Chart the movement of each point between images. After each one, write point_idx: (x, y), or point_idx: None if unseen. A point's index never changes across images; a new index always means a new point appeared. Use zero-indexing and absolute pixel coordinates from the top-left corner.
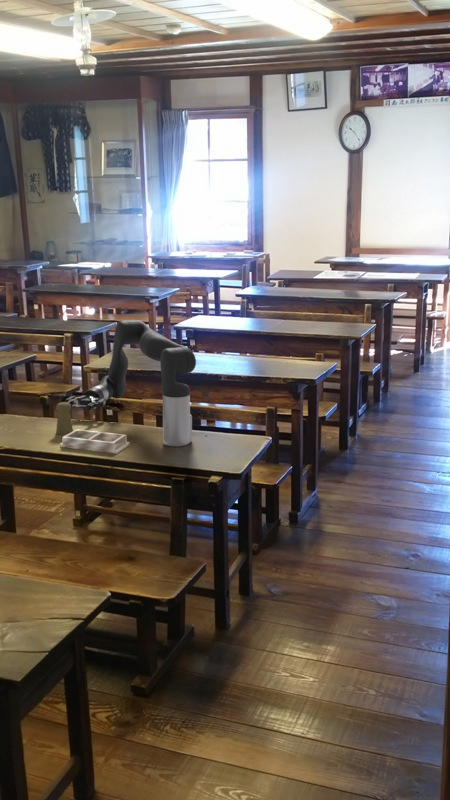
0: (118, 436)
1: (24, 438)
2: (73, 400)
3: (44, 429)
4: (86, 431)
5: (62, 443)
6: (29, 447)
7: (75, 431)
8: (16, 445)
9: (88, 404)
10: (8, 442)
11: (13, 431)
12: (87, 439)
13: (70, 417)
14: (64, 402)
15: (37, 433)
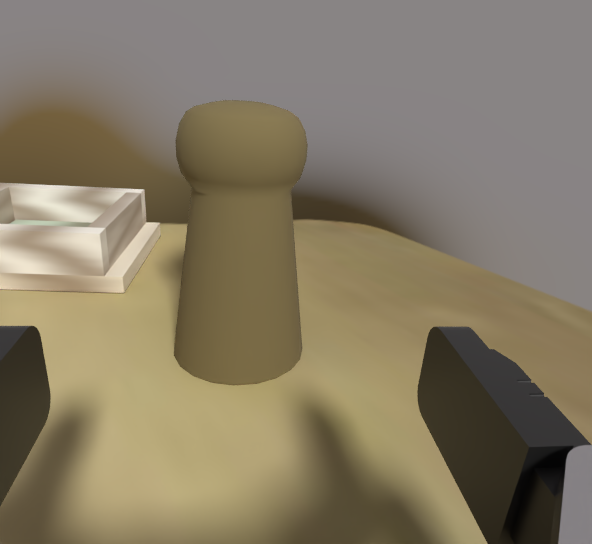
0: None
1: (383, 264)
2: (561, 510)
3: (421, 360)
4: (24, 226)
5: (150, 226)
6: None
7: (97, 219)
8: (343, 229)
9: (9, 339)
10: (399, 238)
11: (538, 307)
12: (9, 186)
13: (186, 237)
14: (239, 102)
15: (391, 309)
